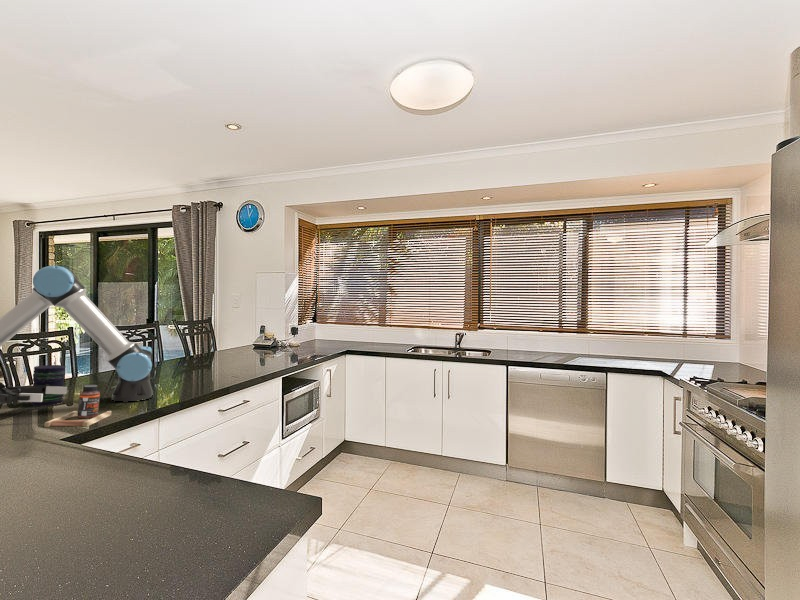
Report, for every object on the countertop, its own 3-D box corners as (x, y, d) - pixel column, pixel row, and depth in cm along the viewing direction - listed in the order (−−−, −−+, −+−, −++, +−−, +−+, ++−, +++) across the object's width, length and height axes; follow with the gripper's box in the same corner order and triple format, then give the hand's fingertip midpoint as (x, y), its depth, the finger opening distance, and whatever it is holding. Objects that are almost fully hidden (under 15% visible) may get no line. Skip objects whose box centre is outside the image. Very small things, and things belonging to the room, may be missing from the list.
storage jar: (47, 407, 155) (51, 368, 156) (23, 405, 156) (26, 367, 156) (69, 401, 165) (72, 365, 166) (46, 400, 166) (49, 364, 166)
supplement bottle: (86, 419, 142) (89, 387, 142) (72, 418, 143) (75, 386, 143) (102, 415, 147) (104, 385, 148) (89, 414, 149) (91, 383, 149)
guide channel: (73, 414, 147) (73, 411, 147) (111, 414, 149) (111, 411, 149) (44, 426, 131) (44, 422, 131) (86, 426, 134) (87, 422, 134)
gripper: (10, 396, 151) (74, 397, 155) (-49, 412, 126) (29, 412, 131) (12, 376, 151) (76, 378, 155) (-46, 388, 127) (31, 389, 131)
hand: (54, 393), depth 143 cm, fingers open, 13 cm apart
